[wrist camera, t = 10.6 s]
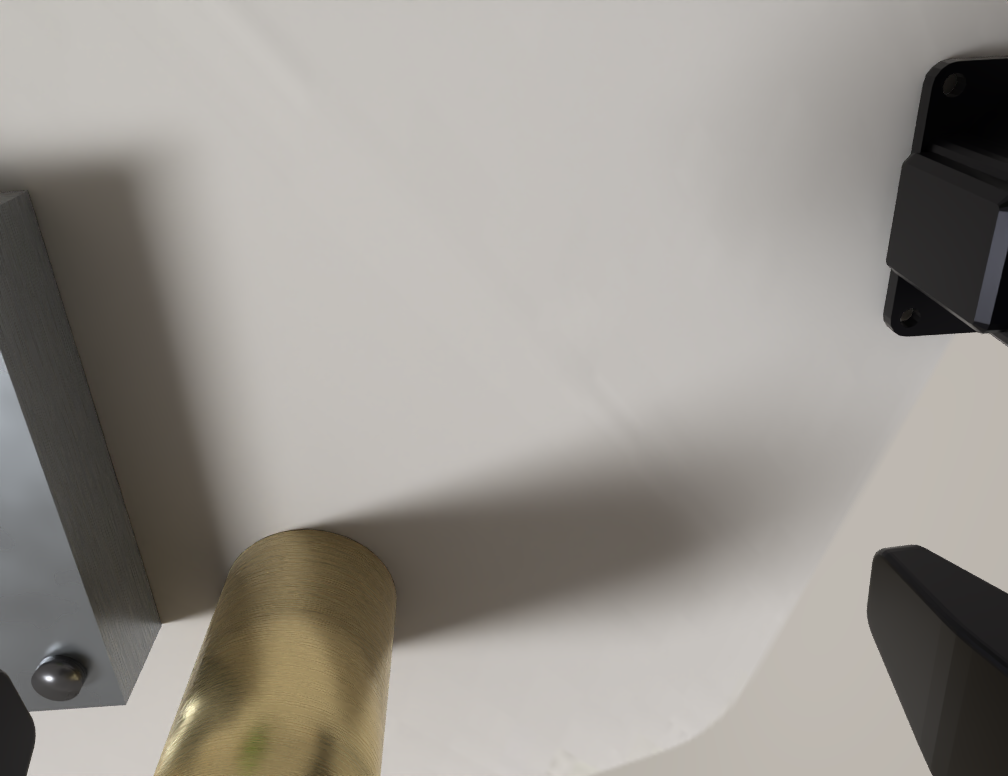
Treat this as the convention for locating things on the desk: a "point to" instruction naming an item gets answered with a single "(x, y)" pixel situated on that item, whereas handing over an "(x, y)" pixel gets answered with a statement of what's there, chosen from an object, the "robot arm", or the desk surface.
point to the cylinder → (291, 665)
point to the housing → (59, 503)
